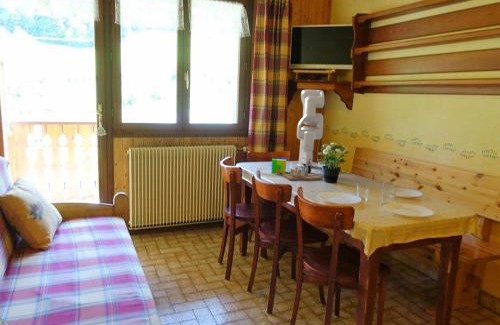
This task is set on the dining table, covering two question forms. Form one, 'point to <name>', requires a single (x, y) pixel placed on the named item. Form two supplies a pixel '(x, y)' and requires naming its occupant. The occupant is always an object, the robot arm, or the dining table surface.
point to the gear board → (301, 175)
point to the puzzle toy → (278, 165)
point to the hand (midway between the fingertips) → (306, 172)
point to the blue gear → (303, 169)
